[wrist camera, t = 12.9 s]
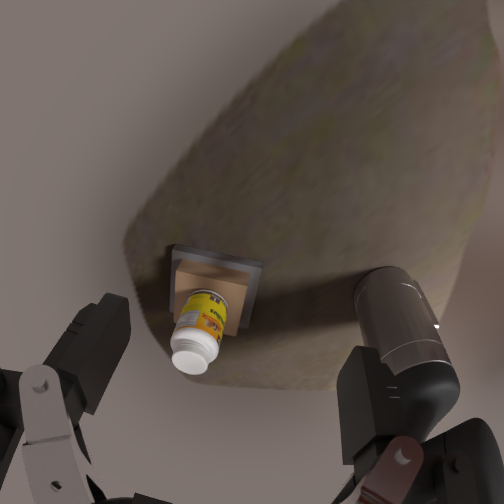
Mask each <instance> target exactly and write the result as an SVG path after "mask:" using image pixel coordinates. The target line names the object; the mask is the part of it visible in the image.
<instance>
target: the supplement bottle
mask: <svg viewBox="0 0 504 504" xmlns="http://www.w3.org/2000/svg"><path fill="white" fill-rule="evenodd" d="M227 314H228V306H227V303H226V301H225V300H224V299H223V297H221V296H220V295H219V294H217V293H216V292H213V291H210V290H198V291H195V292H193V293H192V294H190V295H189V297H188V298H187V300H186V303H185V305H184V307H183V310H182V312H181V315H180V317H179V320H178V322H177V324H176V327H175V329H174V332H173V334H172V337H171V348H172V350H173V351H174V352H173V355H172V362H173V364H174V365H175V367H176V368H178V369H179V370H181V371H182V372H185V373H188V374H201V373H203V372H205V371H206V369H207V367H208V364H209V363H210V362H212V361H213V360H214V359H215V358H216V357H217V355H218V352H219V348H220V344H221V339H222V335H223V331H224V327H225V322H226V318H227Z"/></svg>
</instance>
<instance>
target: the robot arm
mask: <svg viewBox="0 0 504 504" xmlns="http://www.w3.org/2000/svg"><path fill="white" fill-rule="evenodd" d="M354 304H355V309H356V312H357V316H358V321H359V325H360V329H361V333H362V337H363V342H364V346H355V347H354V348H353V350H352V352H351V354H350V355H349V357H348V359H347V360H346V362H345V364H344V365H343V367H342V369H341V370H340V372H339V375H338V378H337V396H338V406H339V418H340V429H341V442H342V458H343V465H354V472H353V473H352V474H351V475H350V476H349V478H348V479H347V480H346V482H345V483H344V484H343V486H342V487H341V488H340V489H339V491H338V492H337V493H336V494H335V496H334V497H333V498H332V499H331V501H330V502H329V503H328V504H504V466H503V461H502V458H501V454H500V450H499V447H498V445H497V442H496V439H495V437H494V435H493V433H492V430H491V429H490V427H489V426H488V425H487V423H486V422H485V421H484V420H482V419H480V418H472V419H469V420H467V421H465V422H463V423H461V424H459V425H458V426H455V427H454V428H451V429H450V430H448V431H446V432H444V433H442V434H440V435H438V436H436V437H434V438H432V439H429V440H428V441H425V440H426V438H427V436H428V434H429V433H430V432H431V431H432V429H433V428H434V427H435V426H436V424H437V423H438V422H439V421H440V420H441V419H442V418H443V417H444V416H445V415H446V414H447V413H448V412H449V411H450V410H451V409H452V407H453V406H454V405H455V403H456V402H457V400H458V398H459V394H460V384H459V380H458V378H457V375H456V372H455V370H454V368H453V366H452V363H451V361H450V358H449V356H448V354H447V351H446V349H445V347H444V345H443V343H442V340H441V338H440V336H439V334H438V332H437V330H438V329H439V322H438V320H437V318H436V316H435V314H434V312H433V310H432V308H431V306H430V304H429V303H428V301H427V299H426V297H425V295H424V293H423V291H422V289H421V287H420V286H419V284H418V282H416V281H413V280H412V279H411V278H410V276H409V274H407V273H406V272H405V271H404V270H402V269H400V268H396V267H384V268H380V269H377V270H374V271H372V272H371V273H369V274H367V275H366V276H365V277H364V278H363V279H362V280H361V281H360V282H359V283H358V285H357V287H356V289H355V292H354ZM130 334H131V325H130V313H129V302H128V299H127V298H125V297H122V296H118V295H115V294H111V293H106V294H105V295H104V296H103V298H102V299H101V301H100V302H99V303H98V305H96V304H93V303H90V304H89V305H88V306H86V307H84V308H83V309H81V310H80V311H79V312H78V314H77V315H76V317H75V318H74V319H73V321H72V323H70V325H69V326H68V328H67V329H66V331H65V332H64V333H63V335H62V336H61V338H60V339H59V341H58V342H57V344H56V345H55V346H54V348H53V349H52V351H51V352H50V354H49V355H48V357H47V358H46V360H45V361H44V363H43V364H42V365H34V366H31V367H29V368H28V369H26V370H25V371H24V372H17V371H11V370H4V369H1V368H0V490H1V487H2V484H3V481H4V478H5V476H6V473H7V471H8V468H9V465H10V463H11V460H12V458H13V455H14V453H15V450H16V448H17V446H18V443H19V441H20V438H21V436H22V434H23V432H24V430H25V435H26V443H25V444H23V446H22V454H23V459H24V464H25V469H26V473H27V477H28V481H29V485H30V489H31V492H32V496H33V499H34V502H35V504H172V503H170V502H166V501H162V500H158V499H155V498H151V497H148V496H145V495H141V494H138V493H135V494H134V497H133V498H129V497H123V498H122V497H120V498H111V499H109V497H108V494H107V492H106V490H105V487H104V485H103V483H102V481H101V479H100V477H99V475H98V473H97V471H96V469H95V466H94V463H93V461H92V458H91V455H90V452H89V449H88V446H87V443H86V440H85V436H84V433H83V430H82V426H81V423H80V418H81V416H82V414H83V412H86V413H89V414H91V415H94V413H95V411H96V409H97V406H98V405H99V402H100V400H101V398H102V396H103V394H104V392H105V390H106V388H107V385H108V383H109V381H110V379H111V377H112V375H113V373H114V371H115V369H116V367H117V365H118V363H119V361H120V359H121V357H122V355H123V353H124V351H125V349H126V347H127V345H128V342H129V339H130ZM424 441H425V442H424Z"/></svg>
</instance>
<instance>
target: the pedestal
mask: <svg viewBox="0 0 504 504" xmlns="http://www.w3.org/2000/svg"><path fill="white" fill-rule="evenodd" d="M262 270H263V262H259V261H254V260H249V259H244V258H239V257H235V256H230V255H225V254H220V253H216V252H211V251H206V250H201V249H197V248H192V247H187V246H183V245H178V244H175V246H174V247H173V249H172V261H171V282H170V312H173V313H174V323H177V322H178V320H179V317H180V315H181V312H182V310H183V307H184V305H185V303H186V300H187V298H188V297H189V295H190V294H192V293H193V292H195V291H198V290H210V291H213V292H216V293H217V294H219V295H220V296H221V297H223V299H224V300H225V301H226V303H227V306H228V314H227V318H226V322H225V327H224V331H223V334H226V335H230V336H235V337H236V335H237V331H238V327H239V328H244V329H248V326H249V322H250V318H251V314H252V310H253V306H254V302H255V298H256V294H257V290H258V286H259V282H260V278H261V274H262Z"/></svg>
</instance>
